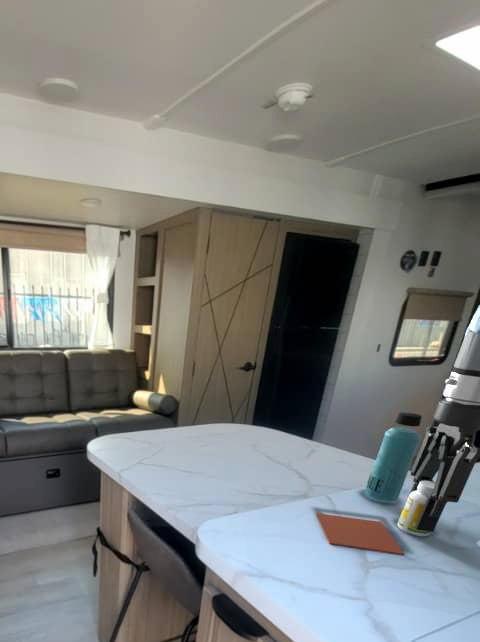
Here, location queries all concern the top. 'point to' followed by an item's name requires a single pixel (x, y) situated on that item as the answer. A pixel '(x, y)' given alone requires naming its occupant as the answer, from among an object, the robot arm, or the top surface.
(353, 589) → the top surface
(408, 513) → the supplement bottle
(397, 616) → the top surface
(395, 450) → the beverage bottle
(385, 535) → the cloth
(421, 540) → the top surface
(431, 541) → the top surface
